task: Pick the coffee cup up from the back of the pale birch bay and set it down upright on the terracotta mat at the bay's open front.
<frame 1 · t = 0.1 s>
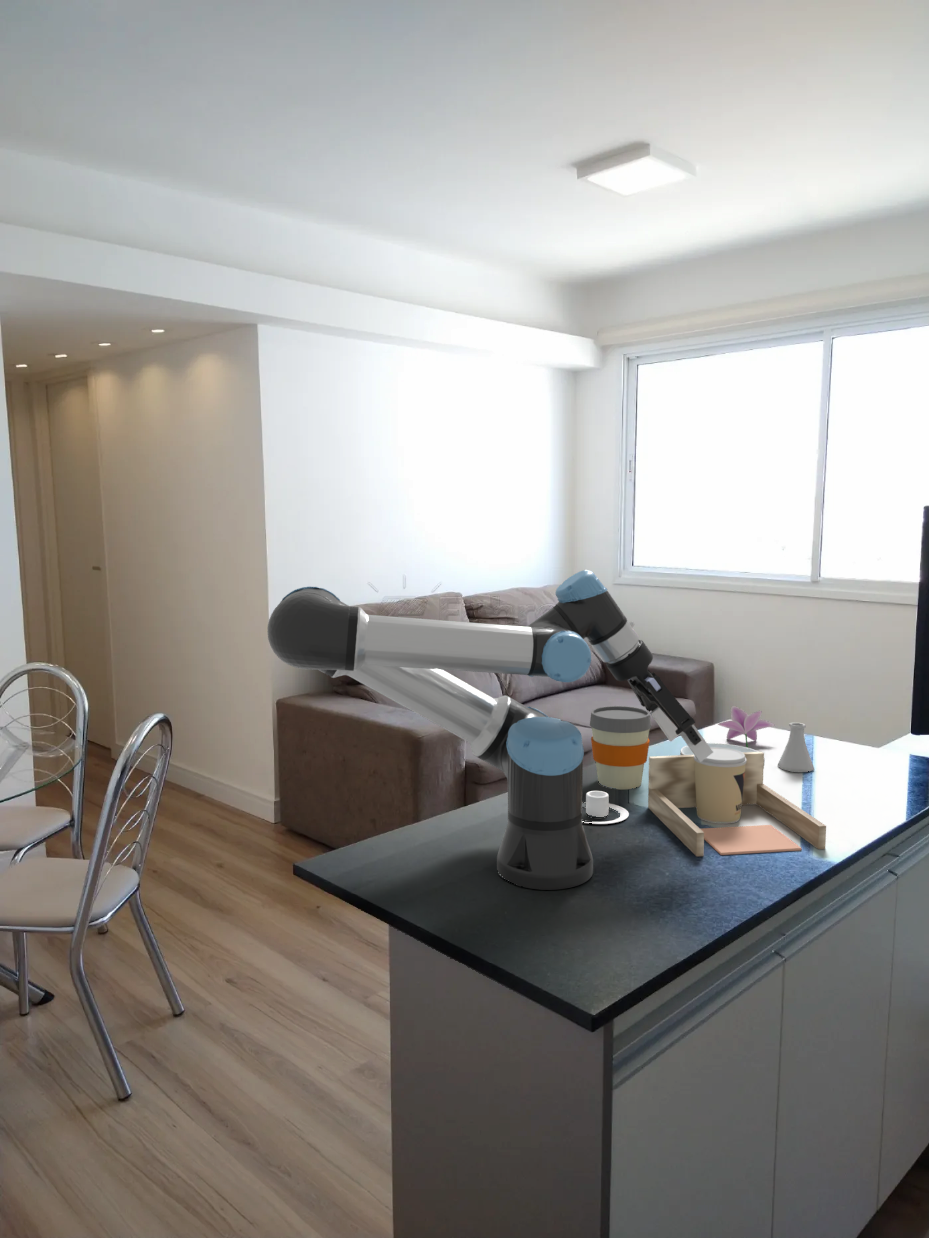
hand: (690, 746, 153), 15 cm above the table, tool tilted 35°, fingers open, 13 cm apart
coffee cup: (718, 817, 162), resting in bay
front mat: (746, 840, 150), on the table
bay: (733, 828, 155), on the table
flask: (795, 769, 191), on the table
lily: (744, 745, 212), on the table
cereal bowl: (720, 786, 180), on the table
reusable coffee cup: (619, 783, 182), on the table
candle holder: (596, 817, 163), on the table
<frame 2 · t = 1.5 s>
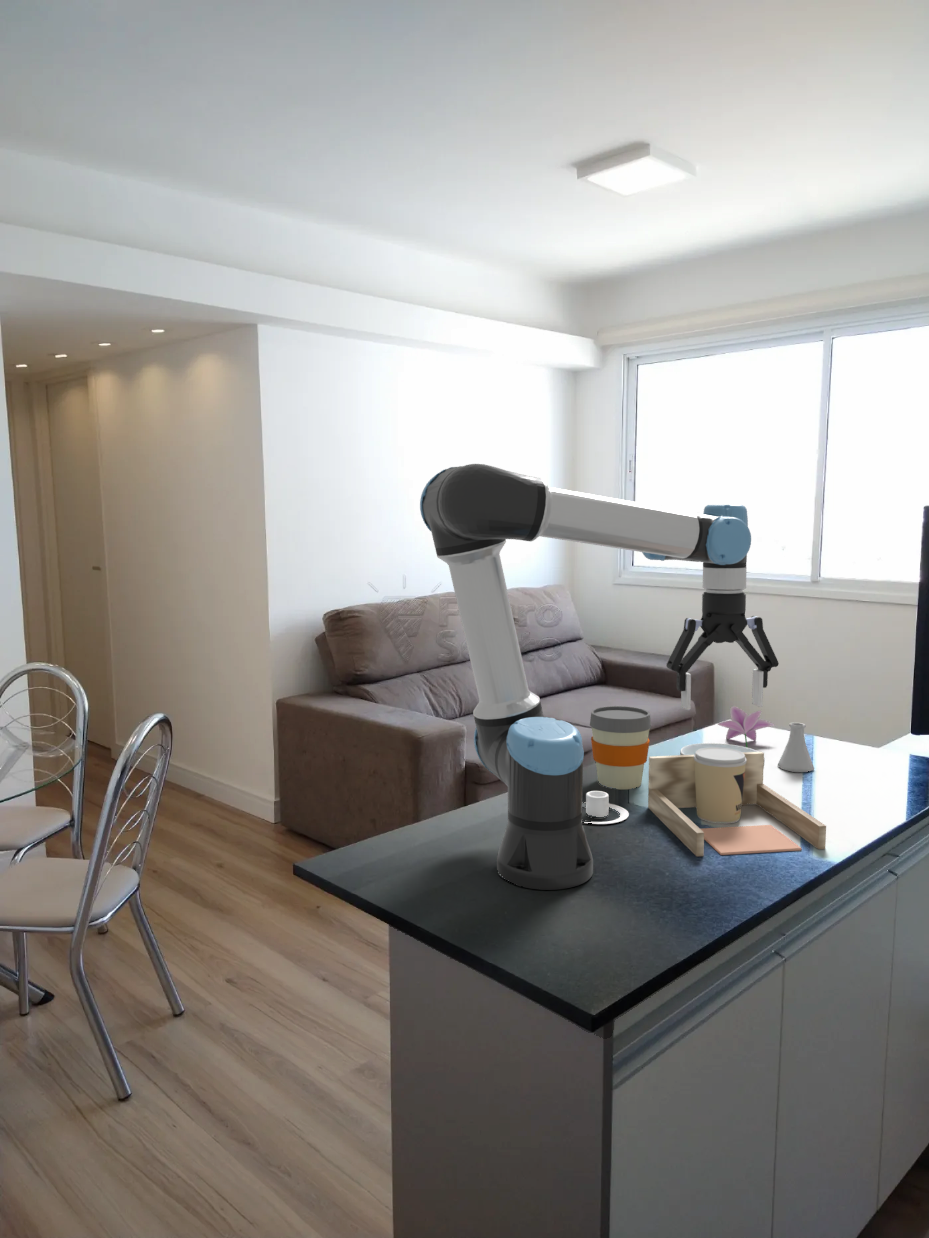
hand: (721, 707, 159), 21 cm above the table, tool pointing down, fingers open, 13 cm apart
nothing on the table moved.
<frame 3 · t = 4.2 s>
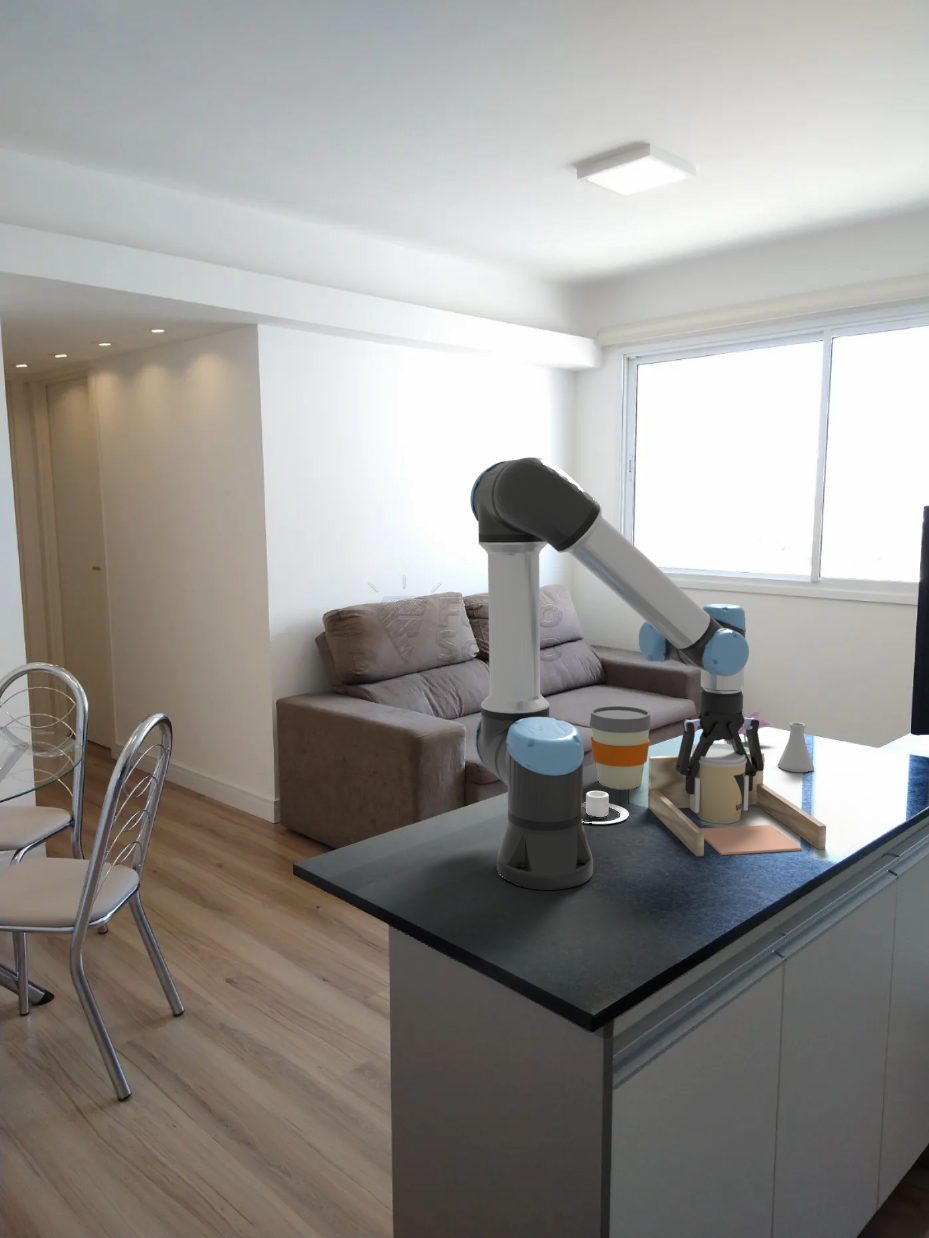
hand: (718, 809, 161), 1 cm above the table, tool pointing down, fingers closed on coffee cup, 9 cm apart
coffee cup: (718, 817, 162), resting in bay, touching gripper
everything else where it was.
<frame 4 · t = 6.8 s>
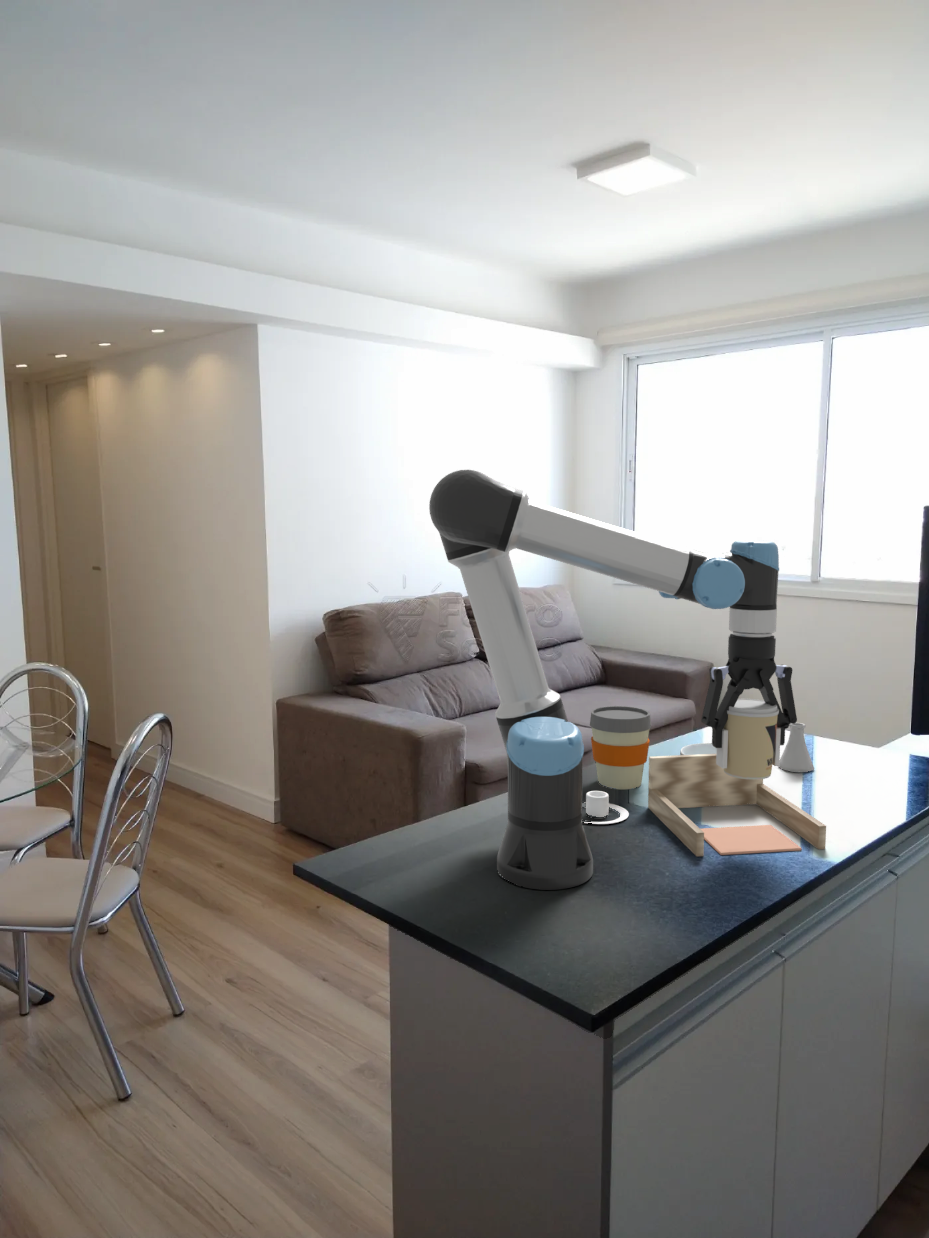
hand: (747, 764, 148), 13 cm above the table, tool pointing down, fingers closed on coffee cup, 9 cm apart
coffee cup: (747, 774, 149), point 12 cm above the table, touching gripper
everything else where it was.
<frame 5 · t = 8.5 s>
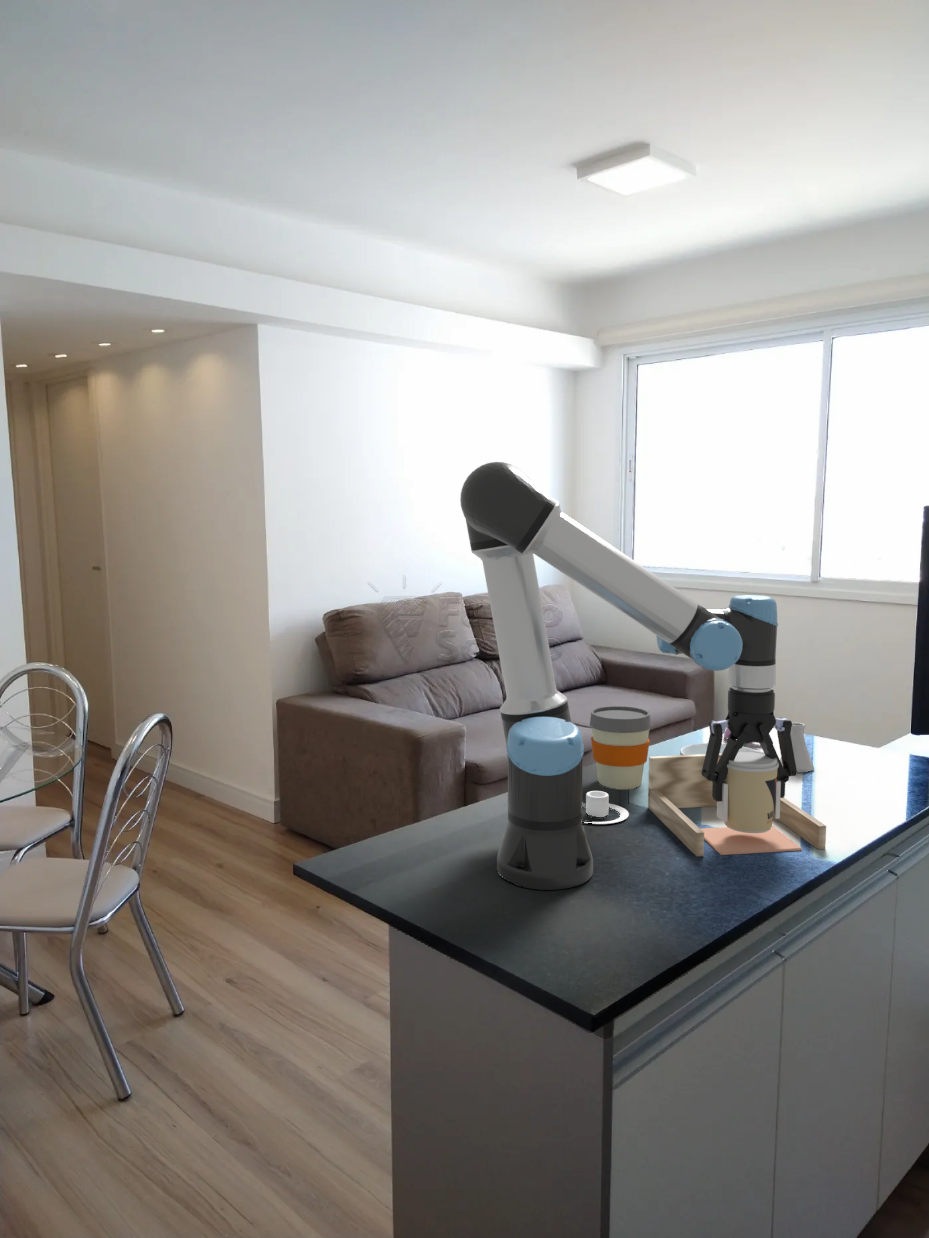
hand: (748, 817, 149), 4 cm above the table, tool pointing down, fingers closed on coffee cup, 9 cm apart
coffee cup: (747, 826, 149), point 2 cm above the table, touching gripper
everything else where it was.
when the fingers open (3 cm above the table, at t = 9.6 s): coffee cup drops 1 cm, resting on front mat.
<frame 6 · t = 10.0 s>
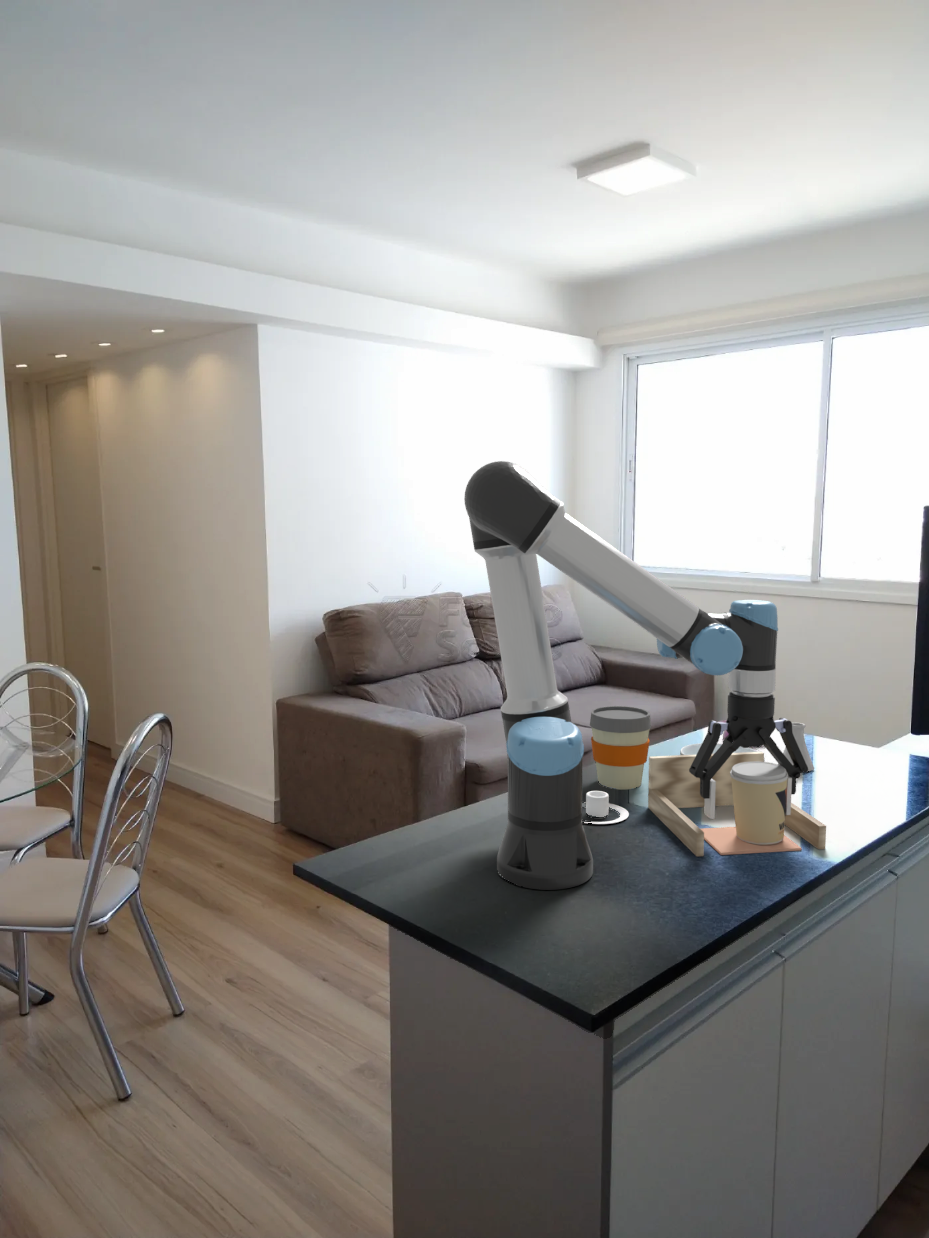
hand: (747, 814, 149), 5 cm above the table, tool pointing down, fingers open, 13 cm apart
coffee cup: (759, 837, 150), resting on front mat, touching gripper
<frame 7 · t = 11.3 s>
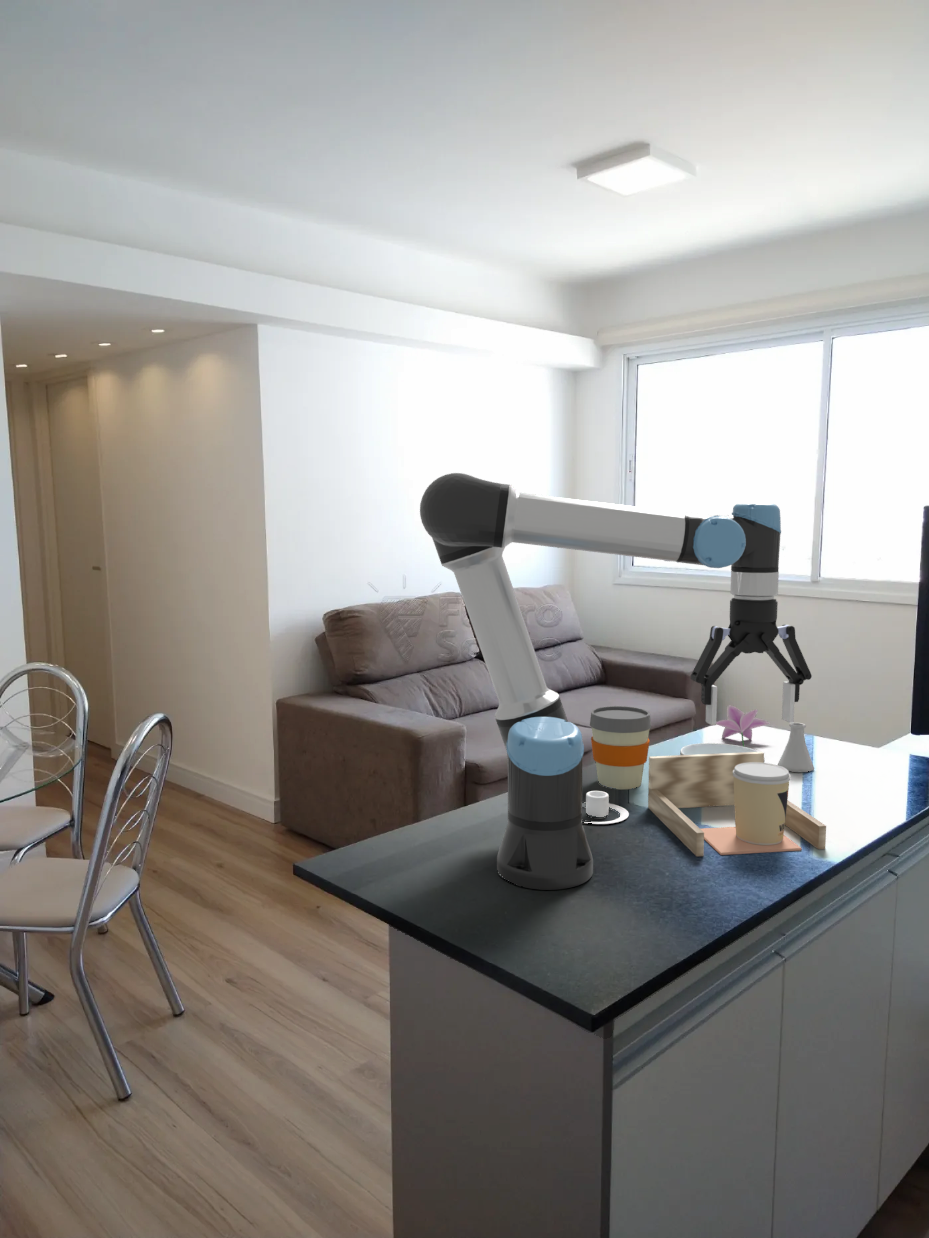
hand: (749, 722, 147), 21 cm above the table, tool pointing down, fingers open, 13 cm apart
coffee cup: (759, 838, 150), resting on front mat
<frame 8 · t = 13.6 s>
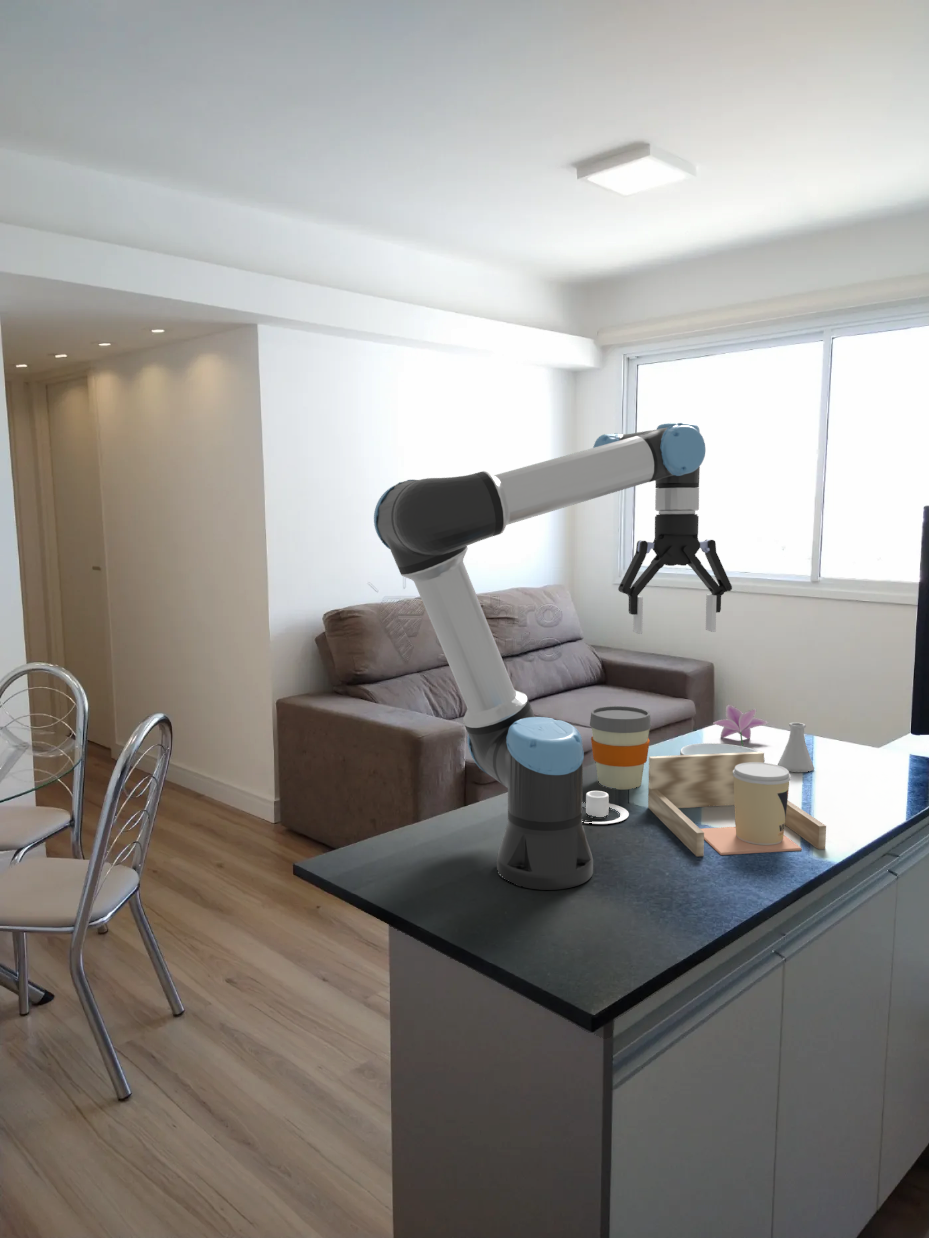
hand: (674, 631, 157), 35 cm above the table, tool pointing down, fingers open, 13 cm apart
at the end: coffee cup inside the target area (2.3 cm from its centre), resting on front mat; coffee cup tilted 0°; the gripper is holding nothing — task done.
